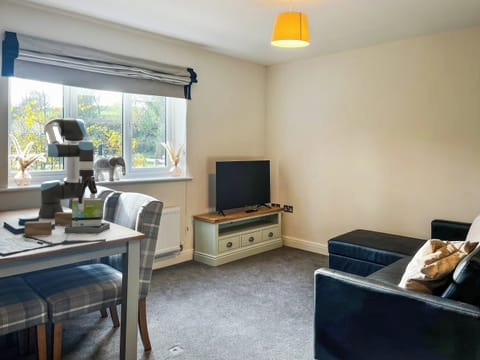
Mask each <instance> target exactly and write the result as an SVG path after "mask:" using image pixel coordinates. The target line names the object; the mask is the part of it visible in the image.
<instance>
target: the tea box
mask: <svg viewBox="0 0 480 360" xmlns="http://www.w3.org/2000/svg"><path fill="white" fill-rule="evenodd" d="M71 200H72V201H71V213H72V227H80V226H101V223H102V198H101V197H95V198H90V197H84V210H78V198H73V199H71Z"/></svg>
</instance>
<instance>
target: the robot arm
mask: <svg viewBox="0 0 480 360" xmlns="http://www.w3.org/2000/svg"><path fill="white" fill-rule="evenodd" d="M43 133H44V135H45V137H47V141H48V144H47V145H46V155H47V157H49V158H55V159H56V158H66V177H65V178H64V179H63V182H62V181H61V180H59V179H57V180H48V181H44V182H42V183H40V203H41V204H40V208H39V212H38V218H40V219H55V213H57V212H65V211H64V209H63V206H62V201H63V200H65V201H66V200H73V198H78V210H84V198H85V194H86V189H87V188H88V190H89V192H90V193H89V198H96V194H98V189H97V185H96V182H95V159H94V156H95V155H94V150H95V149H94V148H95V147H94V142H93V140H84V138H86V137H87V128H86V124H85V122H84V120H83V119H79V118H60V117H59V118H57V117H56V118H53V119H51V120H49V121H47V122H46V123H45V125H44V127H43ZM64 141H65V142H66V143H64Z"/></svg>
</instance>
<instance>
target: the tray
mask: <svg viewBox="0 0 480 360" xmlns="http://www.w3.org/2000/svg"><path fill="white" fill-rule="evenodd" d="M110 228H111V224H110V222H101V226H80V227H72V225H65V227H64V233H65V234H90V235H91V234H92V235H94V234H95V235H99V234H102V233H103V231H104V232H106V231H107V230H109V229H110ZM101 232H102V233H101Z"/></svg>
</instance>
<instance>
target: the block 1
mask: <svg viewBox="0 0 480 360" xmlns="http://www.w3.org/2000/svg"><path fill="white" fill-rule="evenodd" d="M23 226H24V237H45V236H46V237H47V236H51V235H52V234H53V232H52V230H53V229H52V228H53V227H52V220H46V221H45V220H44V221H39V220H38V221H26V222H24V223H23Z"/></svg>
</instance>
